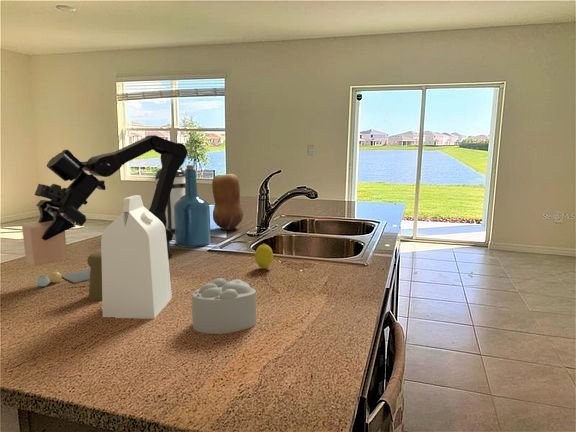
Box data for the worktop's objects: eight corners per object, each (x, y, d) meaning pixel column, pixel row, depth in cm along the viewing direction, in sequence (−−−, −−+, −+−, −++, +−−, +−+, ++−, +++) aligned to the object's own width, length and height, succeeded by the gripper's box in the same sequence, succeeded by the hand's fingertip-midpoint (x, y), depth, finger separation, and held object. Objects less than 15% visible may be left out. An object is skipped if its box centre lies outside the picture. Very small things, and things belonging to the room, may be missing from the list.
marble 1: (52, 284, 108) (51, 274, 108) (44, 288, 105) (43, 277, 105) (42, 284, 109) (41, 273, 108) (34, 287, 106) (33, 277, 105)
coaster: (98, 267, 123) (98, 266, 123) (113, 273, 118) (113, 272, 118) (60, 276, 115) (60, 275, 115) (74, 283, 109) (74, 282, 109)
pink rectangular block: (58, 255, 112) (54, 220, 111) (67, 259, 109) (64, 223, 107) (26, 261, 106) (21, 225, 105) (34, 266, 103) (30, 228, 101)
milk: (126, 297, 100) (118, 193, 95) (171, 298, 99) (166, 193, 95) (102, 317, 88) (93, 200, 83) (154, 318, 88) (147, 200, 83)
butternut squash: (218, 225, 188) (217, 172, 184) (246, 226, 186) (245, 172, 182) (208, 232, 174) (207, 174, 170) (238, 233, 173) (237, 175, 168)
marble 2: (64, 280, 112) (63, 270, 111) (56, 284, 109) (55, 273, 108) (54, 280, 112) (53, 269, 111) (46, 283, 109) (45, 273, 109)
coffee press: (188, 234, 171) (185, 163, 165) (150, 233, 171) (146, 162, 166) (197, 225, 188) (195, 161, 182) (163, 225, 188) (160, 161, 183)
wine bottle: (216, 245, 152) (214, 165, 147) (182, 250, 145) (178, 166, 139) (202, 238, 163) (199, 164, 158) (170, 242, 156) (166, 164, 151)
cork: (88, 301, 97) (85, 257, 95) (88, 293, 102) (84, 251, 100) (116, 297, 99) (112, 254, 98) (114, 289, 105) (111, 249, 103)
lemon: (276, 267, 124) (276, 242, 123) (267, 272, 119) (267, 246, 118) (260, 265, 127) (260, 240, 125) (251, 270, 122) (251, 244, 120)
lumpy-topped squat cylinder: (260, 326, 84) (260, 287, 83) (199, 339, 79) (197, 297, 77) (243, 308, 93) (243, 272, 92) (187, 318, 88) (186, 281, 86)
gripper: (40, 171, 112) (-1, 215, 106) (69, 174, 101) (24, 224, 94) (72, 196, 120) (35, 238, 113) (102, 202, 108) (63, 250, 101)
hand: (38, 237), depth 105 cm, fingers closed on pink rectangular block, 6 cm apart
